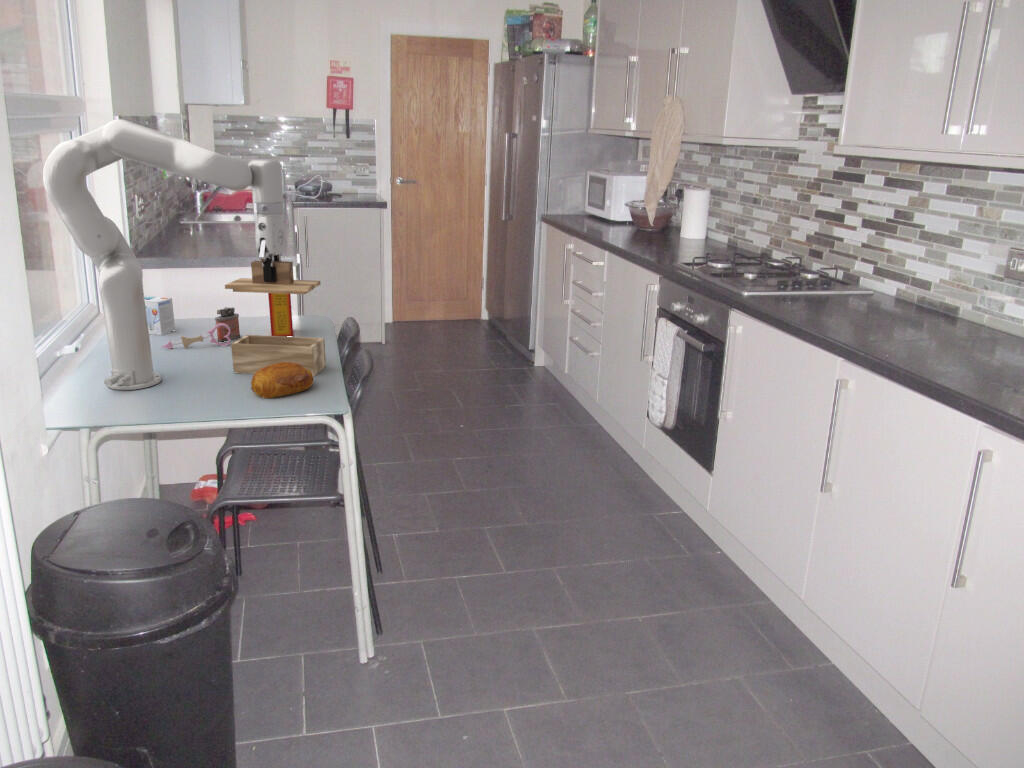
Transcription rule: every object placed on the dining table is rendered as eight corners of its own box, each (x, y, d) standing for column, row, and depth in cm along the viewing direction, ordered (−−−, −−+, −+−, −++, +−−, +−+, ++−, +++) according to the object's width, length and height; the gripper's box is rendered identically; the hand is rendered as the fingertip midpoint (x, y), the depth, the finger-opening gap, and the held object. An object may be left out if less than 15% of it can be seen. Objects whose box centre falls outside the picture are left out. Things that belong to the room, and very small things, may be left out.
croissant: (322, 398, 206) (324, 368, 204) (264, 403, 195) (267, 371, 194) (293, 383, 216) (296, 354, 214) (237, 387, 205) (239, 356, 203)
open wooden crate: (314, 376, 216) (312, 347, 213) (233, 373, 218) (231, 344, 215) (325, 366, 225) (324, 338, 223) (249, 362, 227) (246, 334, 225)
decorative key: (164, 358, 241) (234, 343, 246) (164, 359, 240) (234, 344, 245) (157, 336, 238) (228, 321, 244) (157, 337, 237) (228, 322, 243)
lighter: (235, 336, 255) (232, 304, 252) (243, 337, 253) (240, 306, 250) (214, 341, 248) (211, 309, 245) (222, 343, 246) (219, 311, 243)
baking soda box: (271, 330, 262) (267, 281, 257) (292, 329, 264) (288, 280, 259) (271, 337, 254) (267, 286, 249) (293, 336, 255) (289, 286, 251)
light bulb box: (133, 332, 257) (129, 299, 254) (148, 328, 263) (144, 295, 260) (162, 335, 254) (158, 301, 251) (176, 330, 260) (172, 297, 257)
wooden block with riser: (308, 295, 209) (306, 266, 207) (225, 292, 211) (222, 263, 209) (320, 288, 219) (319, 260, 216) (241, 285, 221) (239, 257, 218)
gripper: (270, 212, 200) (275, 287, 206) (294, 206, 216) (297, 275, 221) (241, 211, 201) (246, 285, 207) (266, 205, 217) (271, 274, 222)
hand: (272, 279), depth 214 cm, fingers closed on wooden block with riser, 3 cm apart
